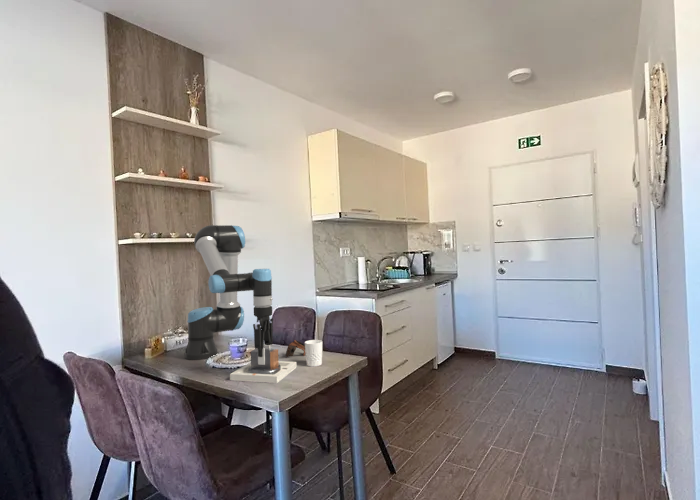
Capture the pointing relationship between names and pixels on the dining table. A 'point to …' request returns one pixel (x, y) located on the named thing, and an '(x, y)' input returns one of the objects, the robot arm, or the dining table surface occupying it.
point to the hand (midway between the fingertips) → (264, 362)
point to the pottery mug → (294, 348)
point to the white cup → (313, 352)
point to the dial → (270, 362)
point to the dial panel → (275, 378)
